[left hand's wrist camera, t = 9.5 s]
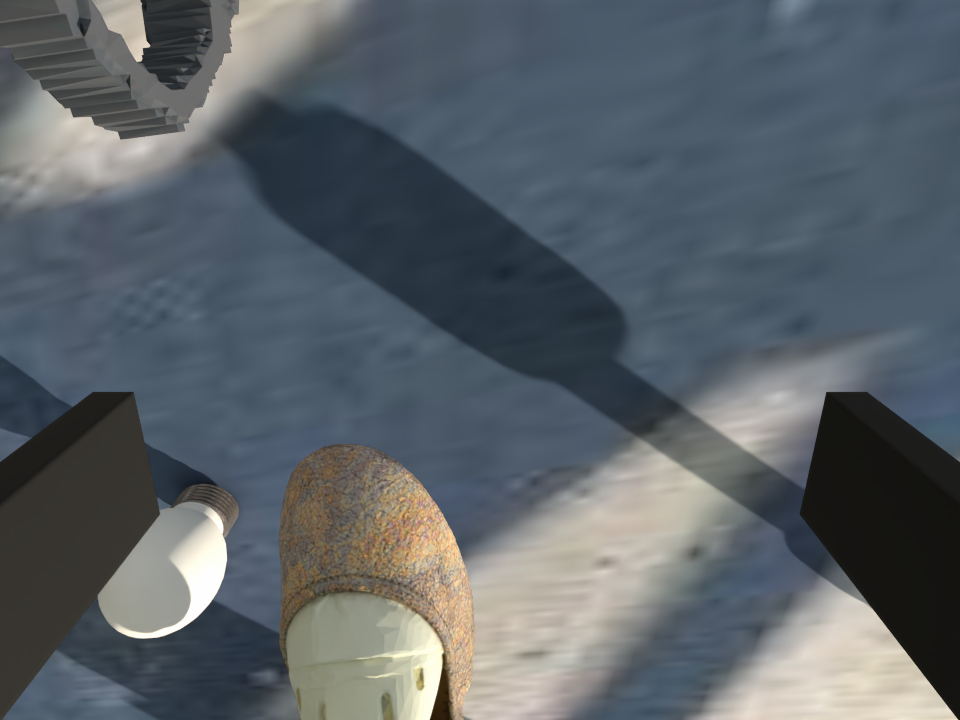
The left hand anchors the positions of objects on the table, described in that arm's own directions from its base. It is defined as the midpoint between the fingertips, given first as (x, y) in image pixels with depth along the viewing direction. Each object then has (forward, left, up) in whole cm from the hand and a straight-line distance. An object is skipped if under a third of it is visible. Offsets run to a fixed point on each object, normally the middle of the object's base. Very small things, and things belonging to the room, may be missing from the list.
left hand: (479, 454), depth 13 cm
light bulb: (+24, +15, -28) cm, 39 cm away
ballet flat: (+9, +17, -14) cm, 24 cm away
